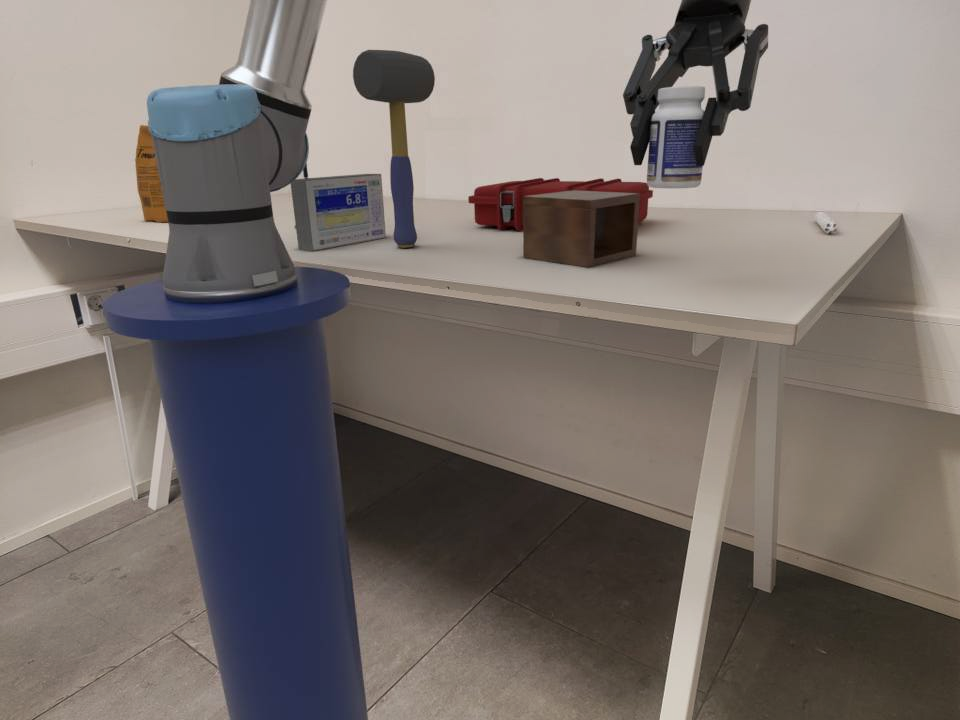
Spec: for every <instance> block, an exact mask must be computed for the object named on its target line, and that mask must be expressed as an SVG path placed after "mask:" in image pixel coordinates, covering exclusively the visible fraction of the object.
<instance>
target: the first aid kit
mask: <svg viewBox="0 0 960 720" xmlns="http://www.w3.org/2000/svg"><path fill="white" fill-rule="evenodd" d="M572 190H577V191H598V192H619V193H639V194H640V198H639V214H638V224H640V223H641V222H644V221H645V220H646V219H647V216H648V211H649V199H652V198H653V196H654V190H652V189H650V187H649V186H648V185H647V182H644V181H643V182H642V181H622V179H621V178H614V179H609V180H605V179H604V178H596V179H591V180H587V181H582V180H581V181H577V180H576V181H575V180H573V181H572V180H570V181H569V180H561V179H560V178H559V177H555V178H554V177H553V178H550V179H544V178H542V177H538V178H532V179H526V180H512V181H506V182H499V183H493V184H488V185H487V184H486V185H481V186H477V187H476V188H475V189H474V191H473V195H470V196H467V197H468V201H467V202H468V204H472V205H473V208H474V222H475V223H476V224H477V225H479V226H487V227H489V226H491V227H497V229H498V230H499V231H505V230H508V229H511V228H514V230H515V231H516V232H517V231H518V232H521V231H522V232H523V205H524V204H523V197H524V196H530V195H538V194H547V193H555V192H564V191H572Z"/></svg>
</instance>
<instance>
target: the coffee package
mask: <svg viewBox="0 0 960 720" xmlns="http://www.w3.org/2000/svg"><path fill="white" fill-rule="evenodd" d="M134 161H135V174H136V175H135V176H136V186H137V187H136V188H137V193H138V196H139V201H140V204H141V210H142V215H143V220H144V222H156V223H168V218H167V213H166V208H165V203H164V198H163V193H162V188H161V183H160V178H159V173H158V168H157V162H156V157H155V152H154V147H153V142H152V137H151V133H150V131H149V129H148V125H144V124H141V125H139V130H138V135H137V144H136V149H135V159H134Z"/></svg>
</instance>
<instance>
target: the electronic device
mask: <svg viewBox="0 0 960 720" xmlns="http://www.w3.org/2000/svg"><path fill="white" fill-rule="evenodd" d="M302 174H303V178H296V179H295V180H294V181H293V182H291V183H290V191H291V199H292V208H293V215H294V229H295V231H296V240H297V247H298V250H300V251H308V252H317V251H322V250H327V249H332V248H338V247H343V246H348V245H354V244H359V243H365V242H370V241H375V240H382V239H386V238H387V233H386V220H385V207H384V206H385V205H384V192H383V191H384V190H383V179H382V173H359V174H358V173H357V174H347V175H346V174H344V175H334V176H333V175H331V176H319V177H309V172H308V162H307V163H306V165H305V167H304V169H303V171H302Z"/></svg>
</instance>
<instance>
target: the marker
mask: <svg viewBox="0 0 960 720" xmlns="http://www.w3.org/2000/svg"><path fill="white" fill-rule="evenodd" d="M814 221H815V222H816V223H817V224H818V226H819V227H820V228H821V229H822V230H823V232H824V233H825V234H828V235H832V234H834V233H836V232H837V230H838V226H837V223H836V222H835V221H834V220H833V219H831V217H830V216H829V215H828V214H827V213H826V212H824V211H819V212H816V213H815V215H814Z"/></svg>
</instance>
